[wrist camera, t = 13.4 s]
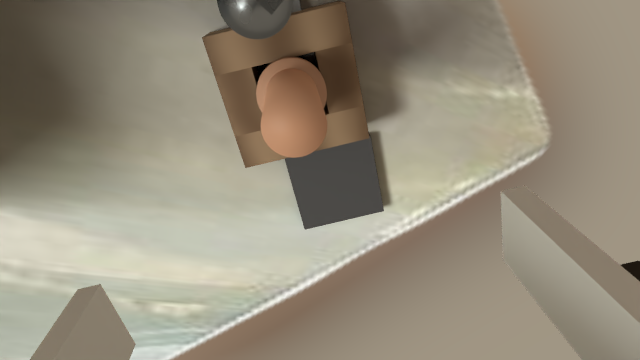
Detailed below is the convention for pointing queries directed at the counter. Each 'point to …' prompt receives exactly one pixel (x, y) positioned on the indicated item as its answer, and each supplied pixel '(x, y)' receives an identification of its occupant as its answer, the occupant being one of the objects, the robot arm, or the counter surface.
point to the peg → (292, 106)
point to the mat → (336, 183)
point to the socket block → (293, 40)
